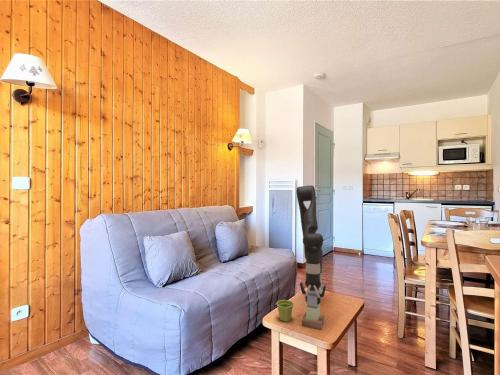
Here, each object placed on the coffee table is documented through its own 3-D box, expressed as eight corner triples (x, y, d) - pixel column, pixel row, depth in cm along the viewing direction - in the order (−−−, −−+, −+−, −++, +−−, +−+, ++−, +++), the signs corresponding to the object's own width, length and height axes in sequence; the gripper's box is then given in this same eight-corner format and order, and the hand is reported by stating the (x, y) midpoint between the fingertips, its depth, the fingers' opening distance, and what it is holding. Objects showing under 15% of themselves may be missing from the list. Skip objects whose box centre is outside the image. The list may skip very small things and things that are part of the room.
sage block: (308, 313, 153) (308, 302, 153) (319, 316, 150) (319, 304, 150) (306, 318, 147) (306, 307, 147) (317, 320, 145) (317, 309, 145)
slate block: (309, 301, 152) (309, 292, 152) (318, 303, 150) (318, 293, 150) (307, 305, 147) (307, 295, 147) (316, 306, 146) (316, 297, 145)
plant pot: (279, 324, 148) (279, 307, 148) (274, 316, 158) (274, 300, 157) (296, 322, 150) (296, 306, 150) (290, 314, 159) (290, 299, 159)
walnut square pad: (305, 317, 155) (305, 311, 155) (324, 320, 152) (324, 315, 152) (301, 326, 146) (301, 319, 146) (321, 329, 142) (321, 323, 142)
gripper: (297, 271, 148) (297, 303, 148) (325, 274, 142) (325, 308, 143) (301, 267, 155) (301, 298, 155) (327, 270, 149) (327, 302, 149)
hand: (312, 303), depth 149 cm, fingers closed on slate block, 5 cm apart
